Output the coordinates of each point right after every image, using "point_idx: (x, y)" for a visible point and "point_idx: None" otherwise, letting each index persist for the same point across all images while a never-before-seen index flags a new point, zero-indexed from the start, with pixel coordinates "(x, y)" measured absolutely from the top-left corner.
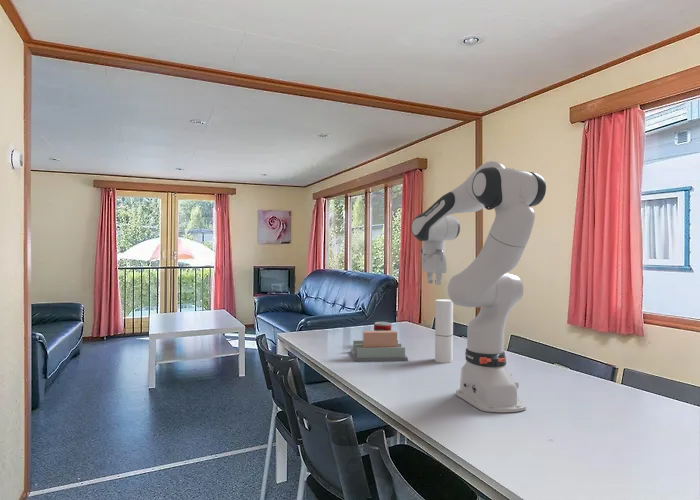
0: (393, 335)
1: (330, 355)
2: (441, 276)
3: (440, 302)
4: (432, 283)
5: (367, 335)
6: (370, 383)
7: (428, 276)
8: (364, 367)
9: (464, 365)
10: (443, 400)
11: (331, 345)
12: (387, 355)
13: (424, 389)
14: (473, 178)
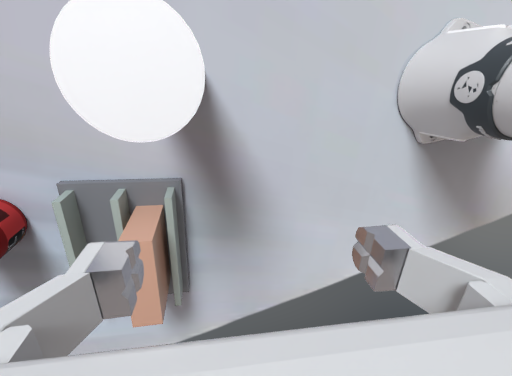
0: (155, 245)
1: (134, 329)
2: (494, 276)
3: (188, 120)
4: (138, 243)
5: (163, 309)
6: (328, 264)
7: (60, 352)
8: (233, 270)
9: (470, 136)
10: (431, 171)
11: None
12: (177, 231)
13: (378, 187)
14: None
